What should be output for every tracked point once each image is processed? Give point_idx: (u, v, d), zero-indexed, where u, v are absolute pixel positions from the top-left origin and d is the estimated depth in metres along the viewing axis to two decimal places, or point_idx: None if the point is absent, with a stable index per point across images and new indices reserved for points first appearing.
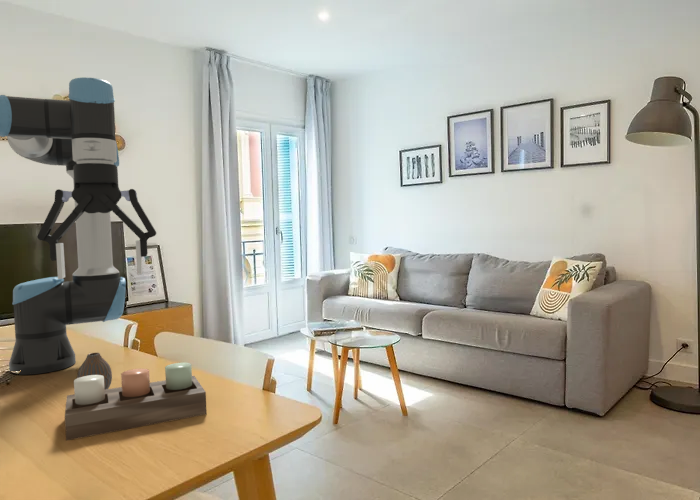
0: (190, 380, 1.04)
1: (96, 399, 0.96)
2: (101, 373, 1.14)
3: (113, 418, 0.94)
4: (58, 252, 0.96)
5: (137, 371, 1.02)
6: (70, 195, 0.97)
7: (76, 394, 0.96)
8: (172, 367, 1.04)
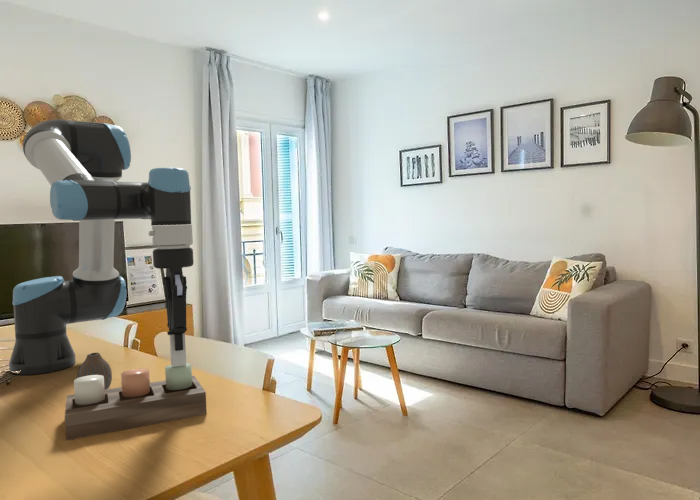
0: (190, 380, 1.04)
1: (96, 399, 0.96)
2: (101, 373, 1.14)
3: (113, 418, 0.94)
4: (170, 342, 1.04)
5: (137, 371, 1.02)
6: None
7: (76, 394, 0.96)
8: (172, 367, 1.04)
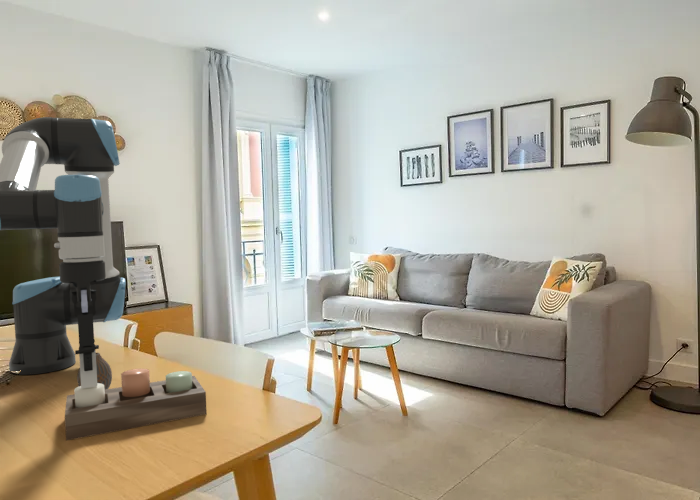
0: (190, 388, 1.04)
1: None
2: (101, 373, 1.14)
3: (113, 418, 0.94)
4: None
5: (137, 371, 1.02)
6: None
7: (77, 403, 0.96)
8: (172, 376, 1.04)
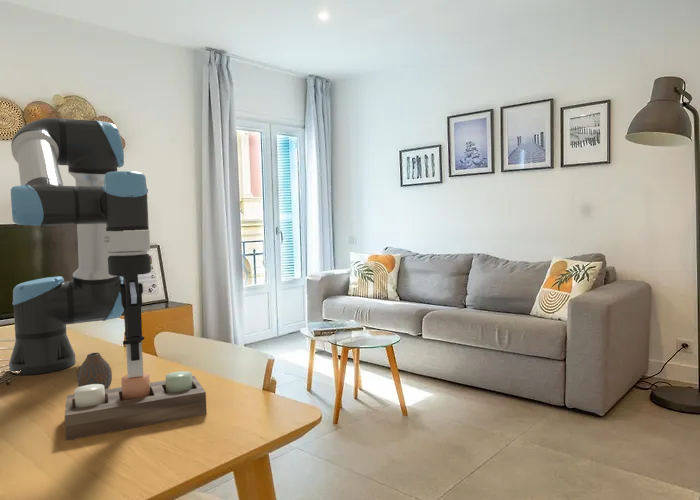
0: (190, 388, 1.04)
1: None
2: (101, 373, 1.14)
3: (113, 418, 0.94)
4: (126, 351, 1.00)
5: None
6: None
7: (77, 404, 0.96)
8: (172, 376, 1.04)
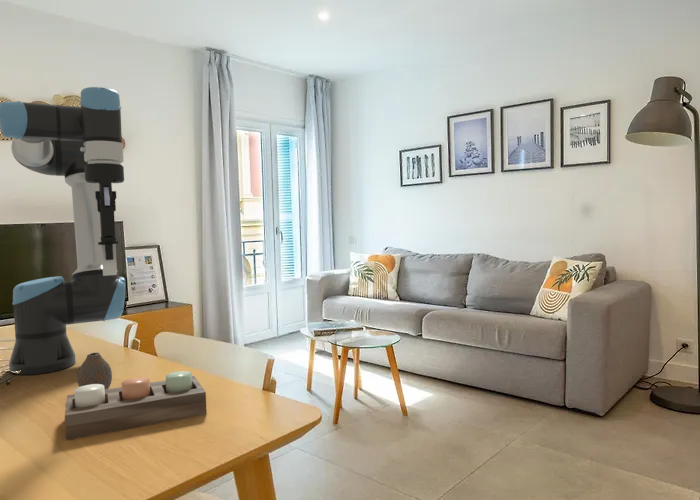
0: (190, 388, 1.04)
1: None
2: (101, 373, 1.14)
3: (113, 418, 0.94)
4: None
5: (137, 380, 1.02)
6: None
7: (77, 404, 0.96)
8: (172, 376, 1.04)
